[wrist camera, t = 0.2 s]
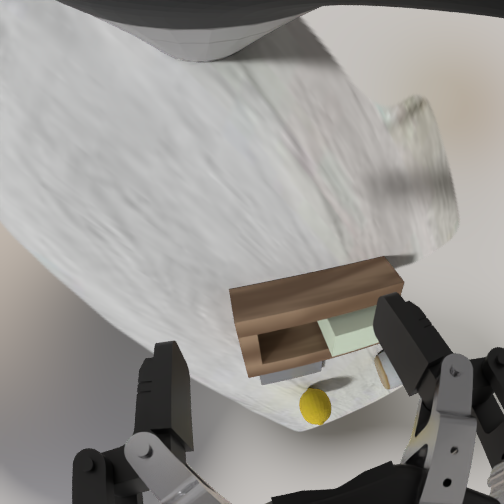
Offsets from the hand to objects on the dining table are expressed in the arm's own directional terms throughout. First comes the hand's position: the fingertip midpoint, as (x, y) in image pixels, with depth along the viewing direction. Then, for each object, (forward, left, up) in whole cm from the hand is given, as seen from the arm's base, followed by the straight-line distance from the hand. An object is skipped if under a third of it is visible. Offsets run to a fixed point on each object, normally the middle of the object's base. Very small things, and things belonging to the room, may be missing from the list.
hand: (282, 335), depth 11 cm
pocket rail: (+18, +7, -17) cm, 26 cm away
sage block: (+18, +12, -18) cm, 28 cm away
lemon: (+41, +8, -18) cm, 46 cm away
